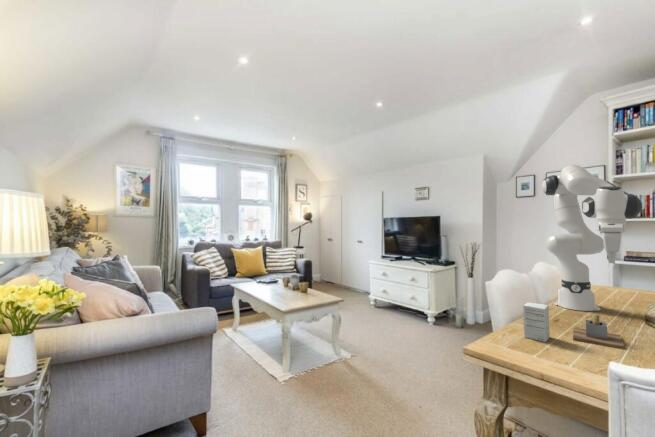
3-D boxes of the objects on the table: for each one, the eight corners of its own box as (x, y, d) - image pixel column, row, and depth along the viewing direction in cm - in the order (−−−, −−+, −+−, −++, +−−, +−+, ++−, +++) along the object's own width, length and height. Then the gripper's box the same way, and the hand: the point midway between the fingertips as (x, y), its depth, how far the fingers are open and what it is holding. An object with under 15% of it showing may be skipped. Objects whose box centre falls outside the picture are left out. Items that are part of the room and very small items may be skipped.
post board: (573, 329, 126) (572, 308, 126) (619, 337, 117) (618, 314, 117) (573, 339, 115) (572, 316, 115) (624, 349, 106) (623, 323, 106)
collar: (586, 332, 120) (585, 319, 121) (606, 335, 117) (606, 322, 117) (586, 336, 116) (586, 323, 116) (607, 340, 112) (607, 326, 112)
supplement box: (528, 332, 124) (527, 301, 124) (550, 337, 118) (549, 304, 119) (523, 337, 118) (522, 305, 119) (546, 342, 113) (545, 308, 113)
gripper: (598, 225, 130) (599, 257, 130) (600, 227, 114) (601, 264, 114) (619, 225, 126) (619, 258, 126) (624, 227, 110) (624, 265, 110)
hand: (610, 261), depth 120 cm, fingers open, 8 cm apart
